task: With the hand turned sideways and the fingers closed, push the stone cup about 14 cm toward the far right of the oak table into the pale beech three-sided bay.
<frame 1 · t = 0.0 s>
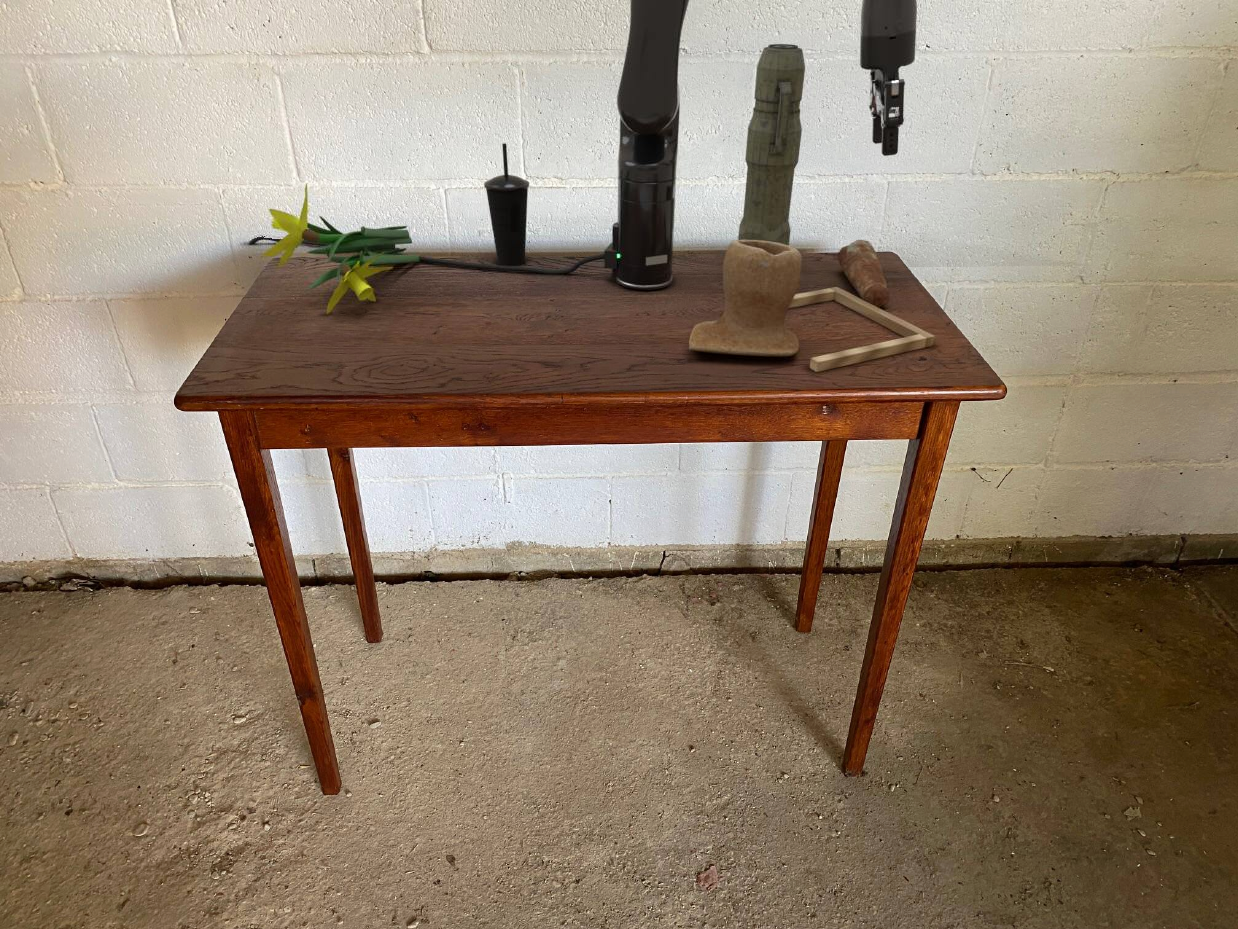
hand: (884, 148, 127), 22 cm above the table, tool pointing down, fingers open, 8 cm apart
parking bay: (822, 330, 124), on the table
thermos: (761, 264, 150), on the table
rusty brown cylinder: (866, 290, 139), on the table
stone cup: (742, 348, 119), on the table
drinking cup: (511, 262, 149), on the table
daffodil flowers: (361, 290, 137), on the table
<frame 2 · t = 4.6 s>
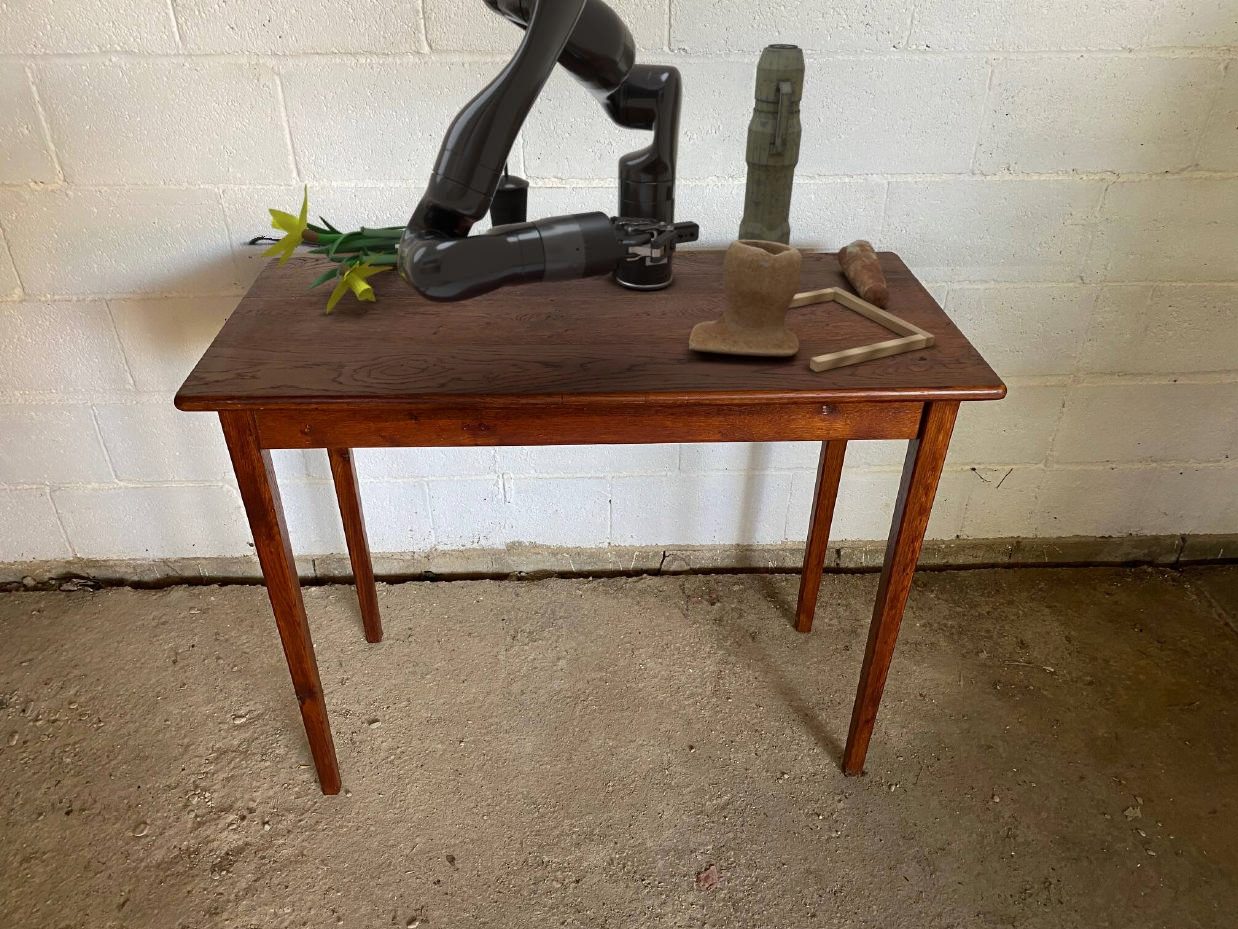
hand: (695, 230, 106), 18 cm above the table, tool horizontal, fingers closed
nothing on the table moved.
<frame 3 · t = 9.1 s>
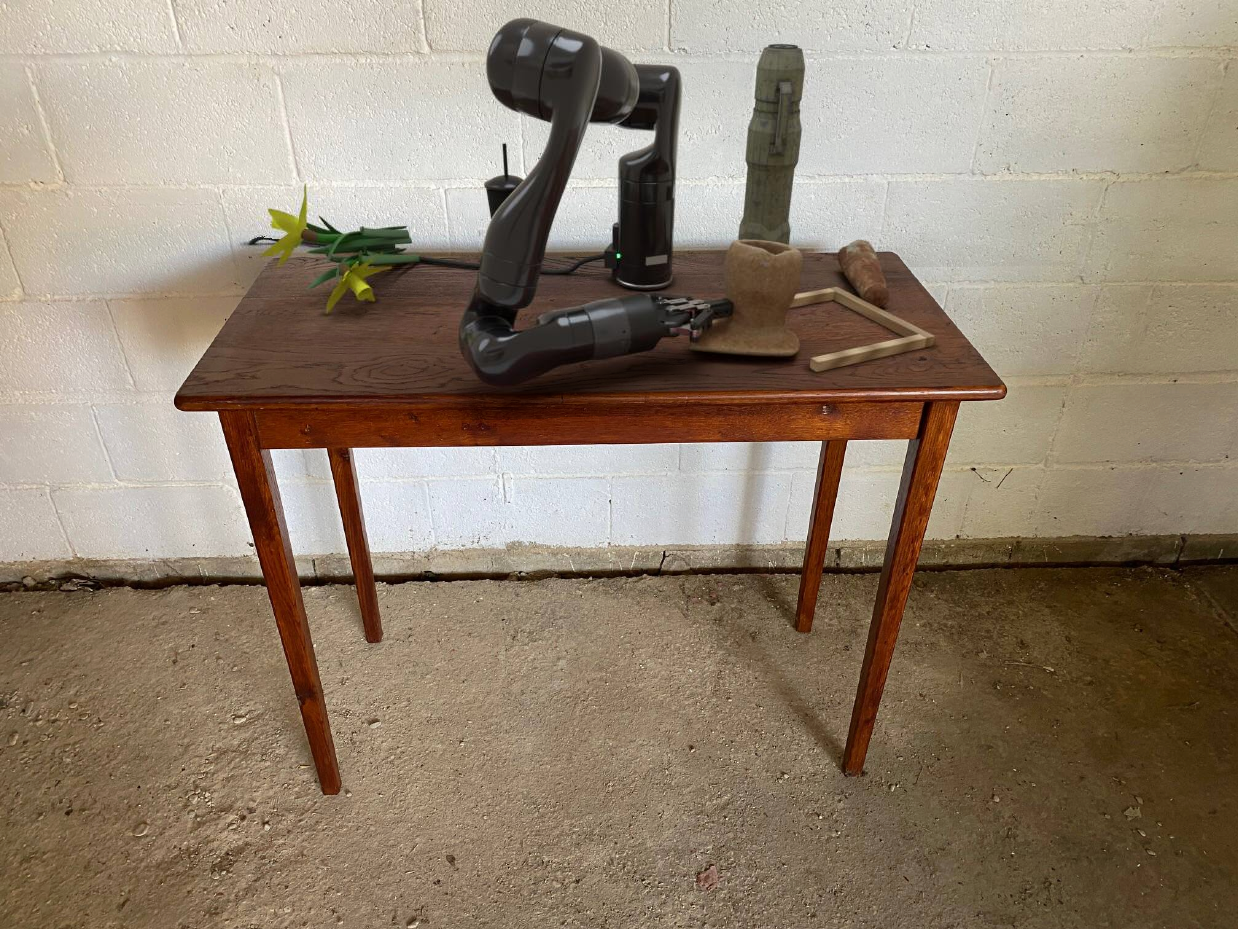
hand: (729, 306, 114), 7 cm above the table, tool horizontal, fingers closed
stone cup: (743, 348, 119), on the table, touching gripper
everything else where it was.
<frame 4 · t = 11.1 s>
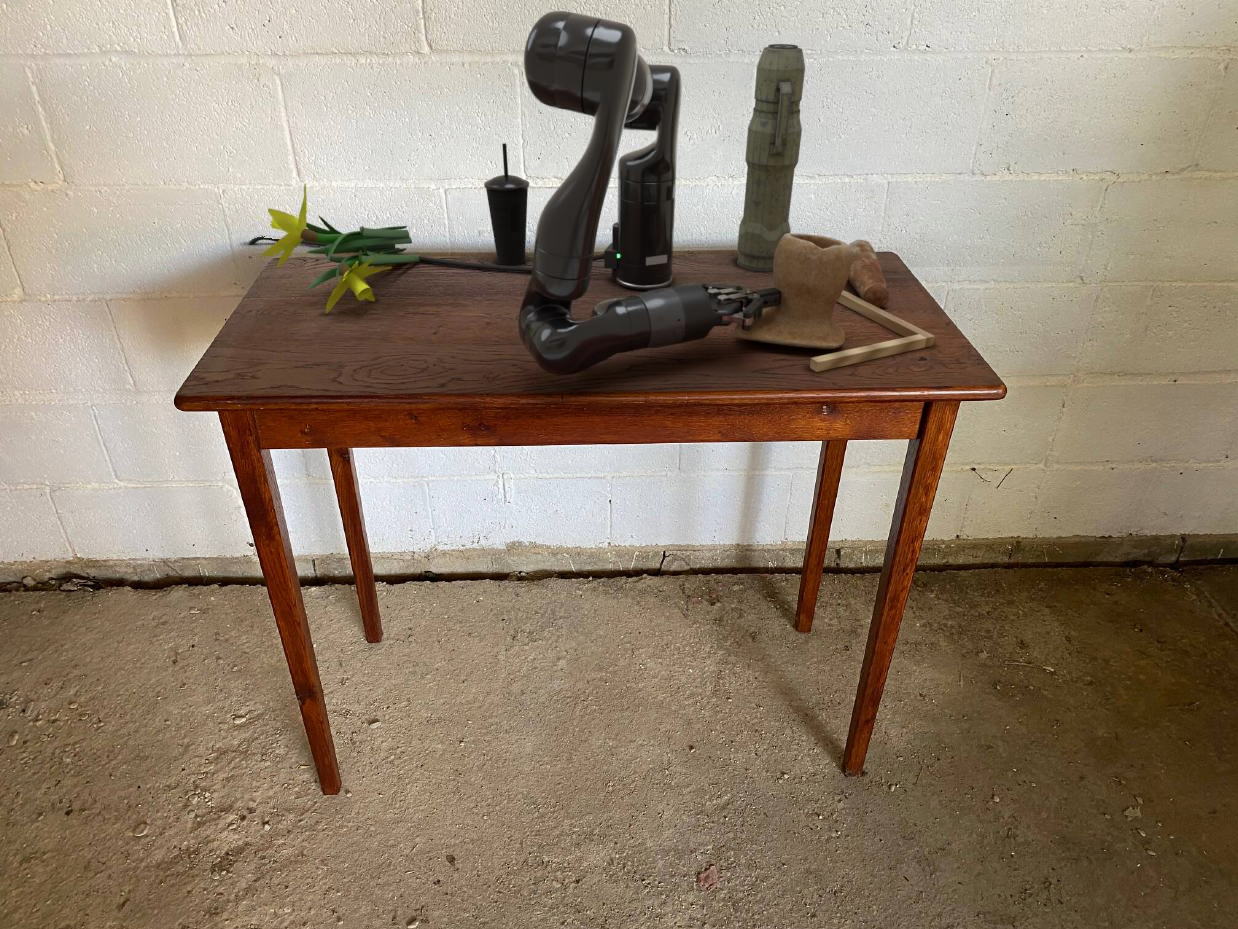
hand: (778, 296, 117), 7 cm above the table, tool horizontal, fingers closed
stone cup: (790, 340, 121), on the table, touching gripper
everything else where it was.
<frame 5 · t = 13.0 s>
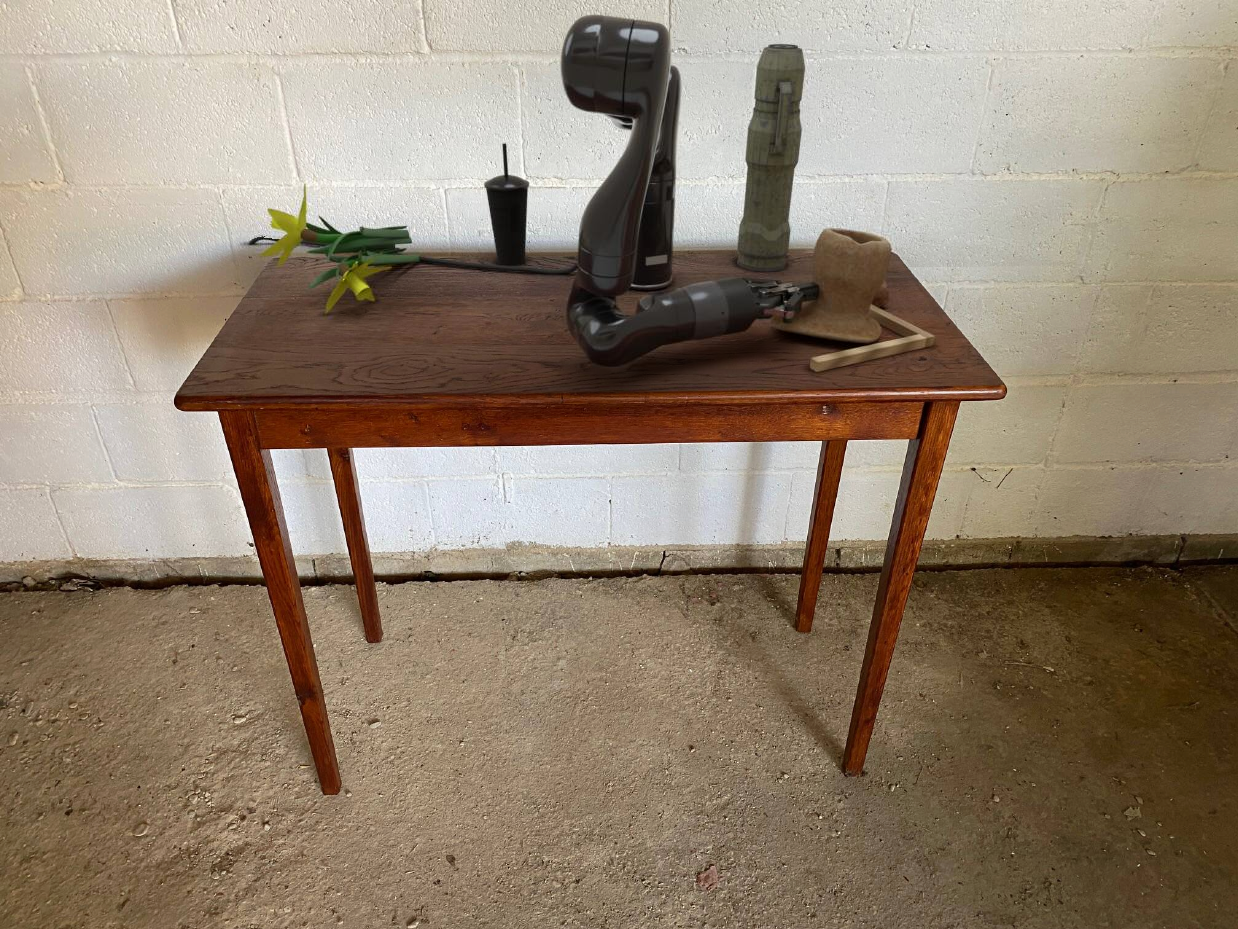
hand: (816, 290, 119), 7 cm above the table, tool horizontal, fingers closed
stone cup: (827, 333, 124), on the table, touching gripper
everything else where it was.
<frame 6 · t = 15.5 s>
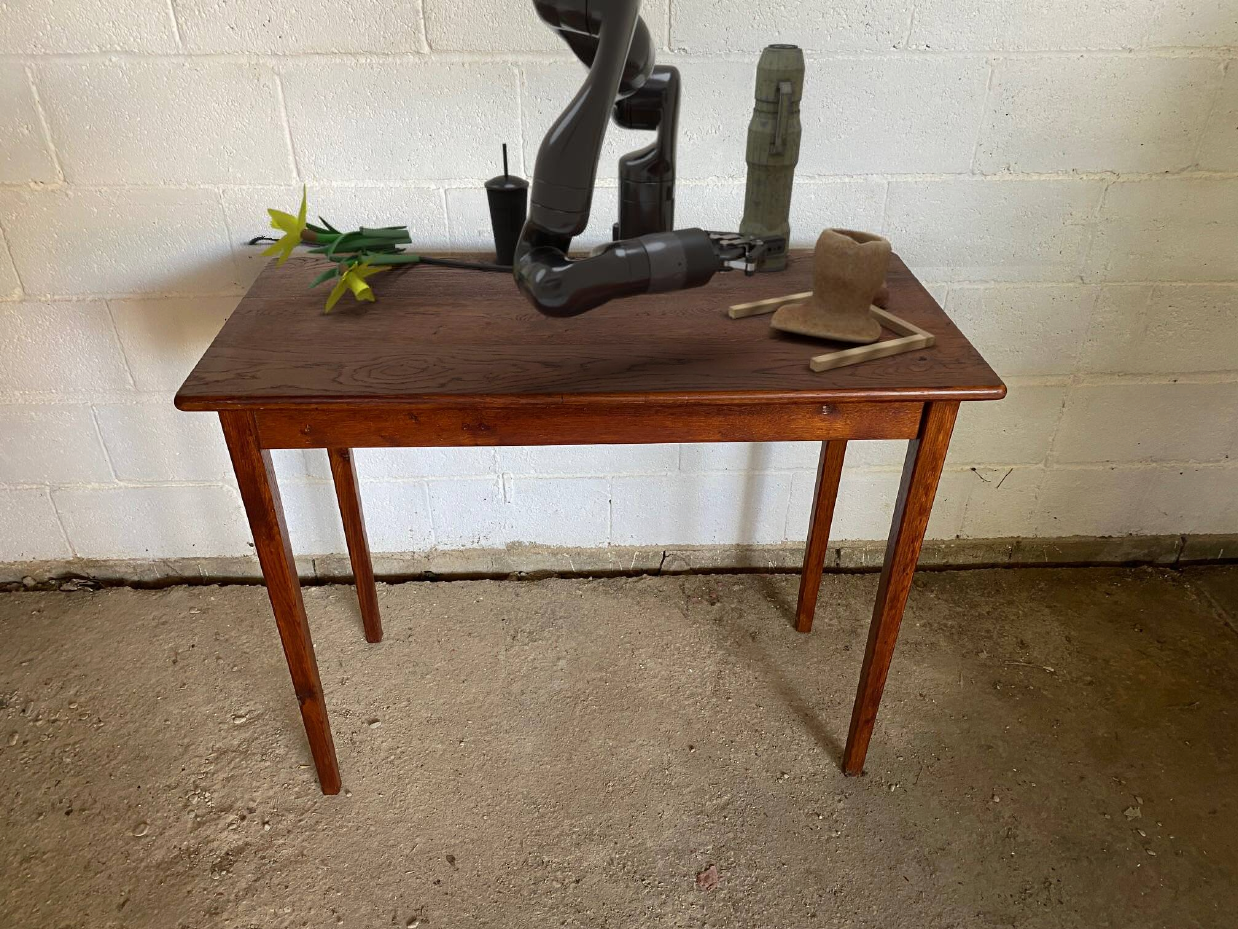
hand: (781, 243, 113), 14 cm above the table, tool horizontal, fingers closed
stone cup: (827, 333, 123), on the table
everything else where it was.
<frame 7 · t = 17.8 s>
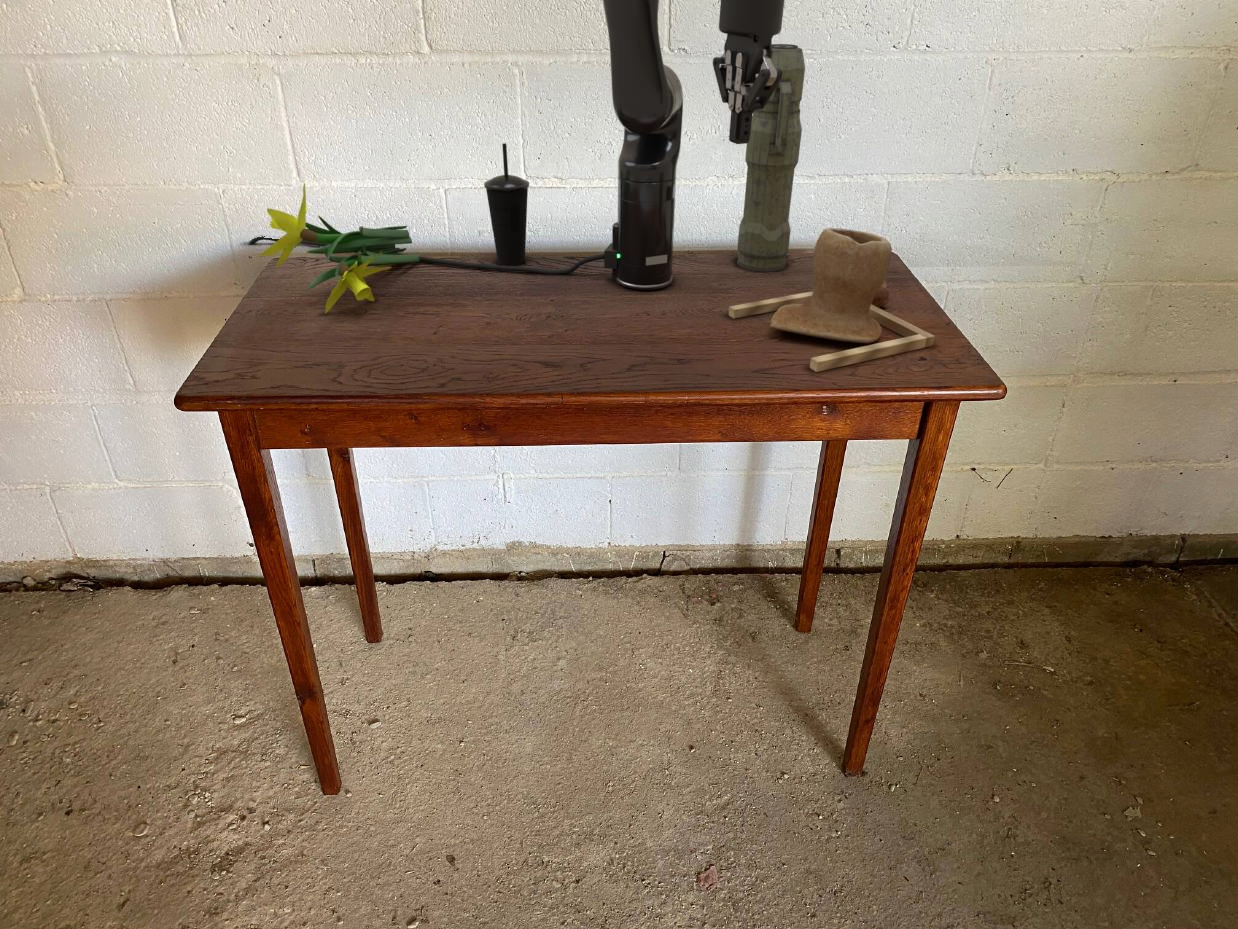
hand: (739, 142, 108), 27 cm above the table, tool pointing down, fingers closed
nothing on the table moved.
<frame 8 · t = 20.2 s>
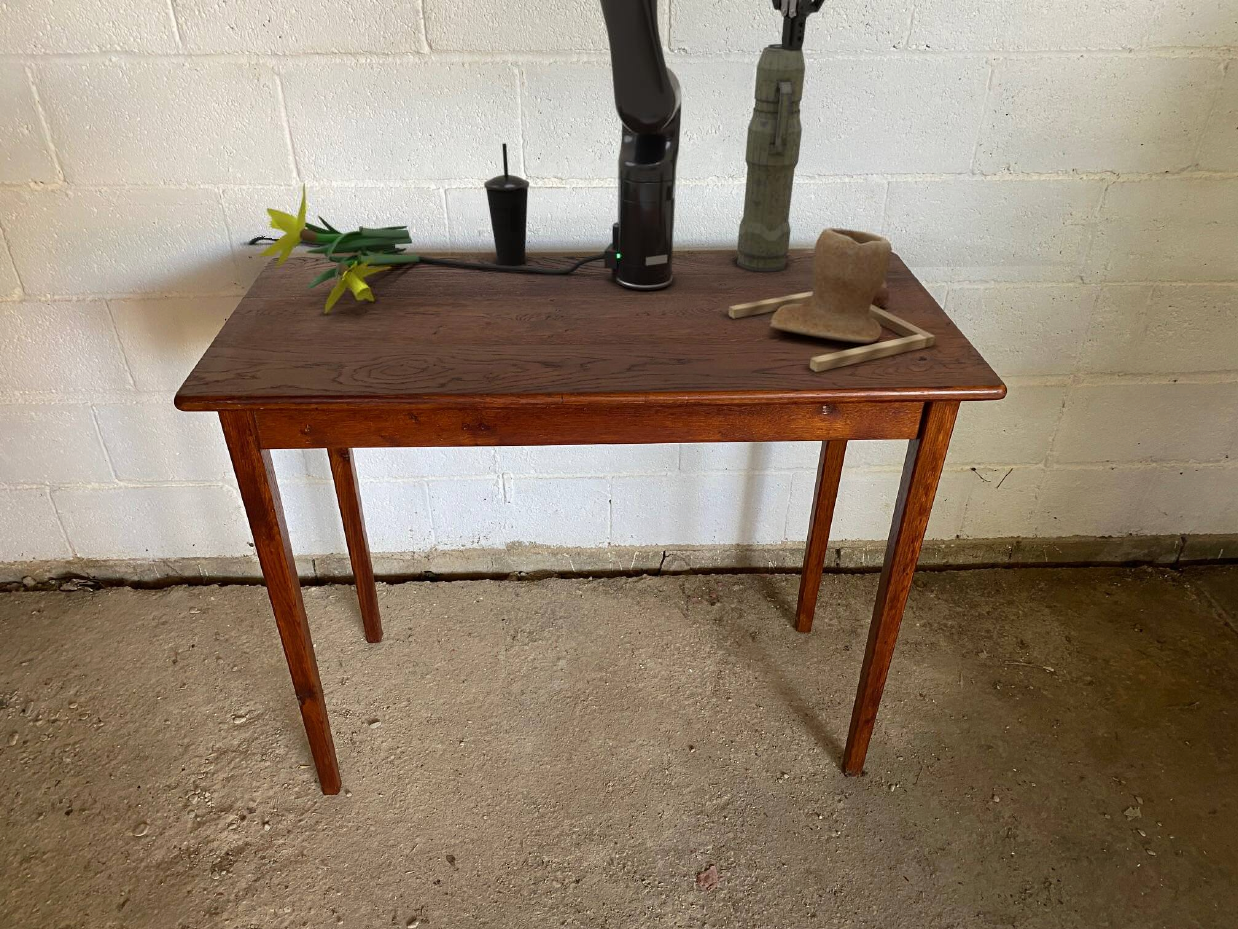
hand: (791, 50, 107), 37 cm above the table, tool pointing down, fingers closed
nothing on the table moved.
at the end: stone cup inside the target area on the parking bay (0.8 cm from its centre), point 0.0 cm above the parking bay's base; stone cup tilted 0°; stone cup moved 14.4 cm from its start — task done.
